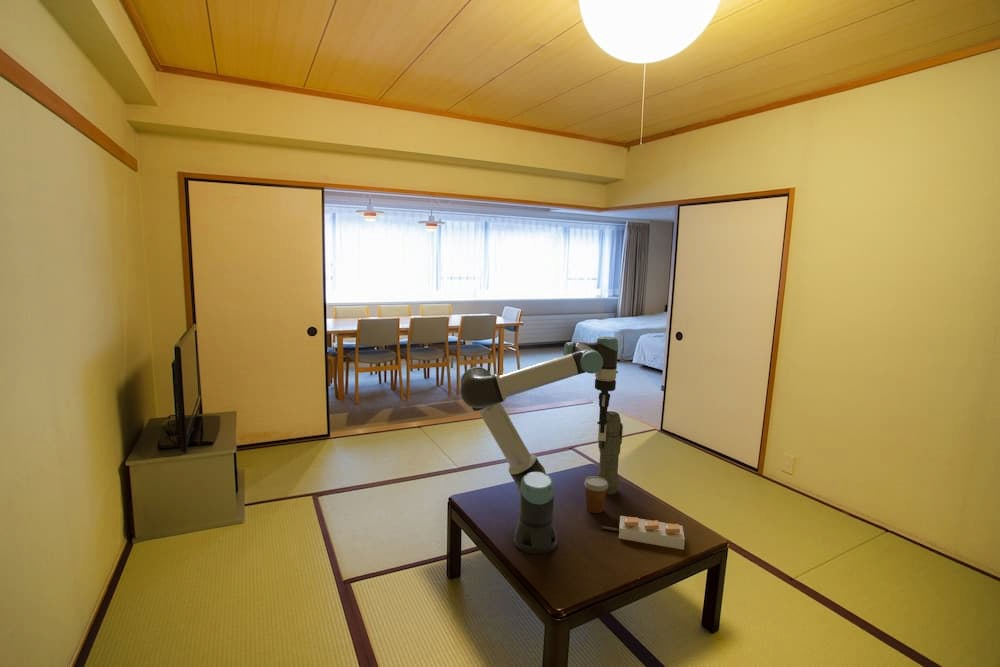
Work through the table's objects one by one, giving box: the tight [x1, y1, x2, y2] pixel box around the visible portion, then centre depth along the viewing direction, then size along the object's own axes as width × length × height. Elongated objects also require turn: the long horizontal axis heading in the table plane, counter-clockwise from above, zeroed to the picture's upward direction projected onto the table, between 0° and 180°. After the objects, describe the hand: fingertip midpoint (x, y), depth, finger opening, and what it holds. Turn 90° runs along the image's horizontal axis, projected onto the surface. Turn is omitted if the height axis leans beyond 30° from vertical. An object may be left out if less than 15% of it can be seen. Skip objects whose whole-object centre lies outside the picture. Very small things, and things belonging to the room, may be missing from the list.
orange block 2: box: [644, 520, 659, 530], centre depth 169 cm, size 5×3×2 cm
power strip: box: [601, 515, 686, 550], centre depth 172 cm, size 28×9×5 cm, turn 74°
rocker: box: [665, 523, 680, 533], centre depth 167 cm, size 5×3×2 cm
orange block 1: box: [624, 516, 639, 526], centre depth 171 cm, size 5×3×2 cm
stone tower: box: [597, 410, 624, 496], centre depth 204 cm, size 9×12×35 cm
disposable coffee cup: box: [583, 475, 608, 514], centre depth 189 cm, size 10×10×12 cm
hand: (601, 440), depth 177 cm, fingers closed
